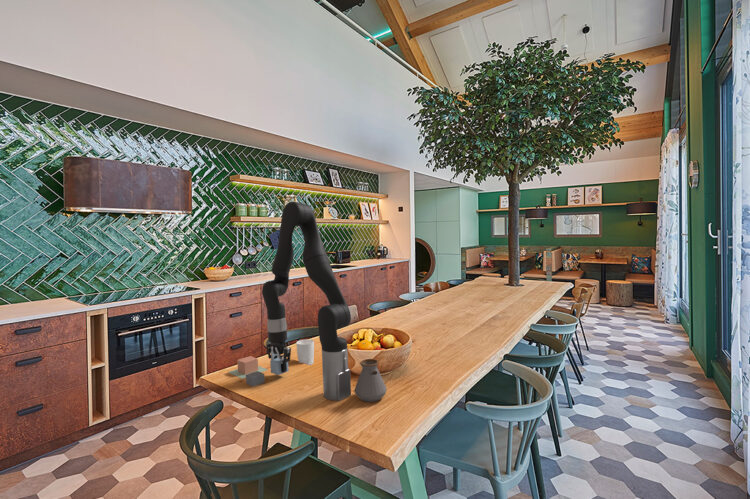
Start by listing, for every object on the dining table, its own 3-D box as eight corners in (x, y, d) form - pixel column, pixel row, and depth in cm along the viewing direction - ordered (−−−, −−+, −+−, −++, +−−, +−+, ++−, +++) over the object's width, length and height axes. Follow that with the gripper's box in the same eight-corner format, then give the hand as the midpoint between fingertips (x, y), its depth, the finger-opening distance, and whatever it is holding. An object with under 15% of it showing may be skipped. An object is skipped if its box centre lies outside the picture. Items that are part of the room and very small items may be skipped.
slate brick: (264, 386, 143) (264, 373, 143) (253, 390, 140) (252, 378, 139) (257, 383, 147) (257, 371, 147) (246, 387, 143) (245, 374, 143)
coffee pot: (353, 392, 136) (351, 352, 135) (383, 388, 137) (382, 349, 137) (359, 421, 115) (358, 374, 114) (395, 417, 116) (394, 370, 116)
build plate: (268, 373, 157) (268, 369, 157) (242, 382, 148) (242, 378, 148) (253, 367, 165) (253, 363, 165) (227, 375, 156) (227, 372, 155)
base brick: (258, 370, 156) (257, 358, 156) (245, 374, 152) (244, 362, 152) (250, 367, 160) (250, 356, 160) (237, 371, 156) (237, 359, 156)
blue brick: (288, 371, 149) (287, 359, 149) (278, 375, 145) (277, 362, 145) (281, 368, 152) (280, 356, 152) (270, 372, 148) (270, 360, 148)
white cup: (293, 365, 165) (292, 343, 165) (304, 359, 172) (303, 338, 172) (307, 367, 162) (306, 345, 161) (318, 361, 169) (317, 340, 168)
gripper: (295, 329, 146) (298, 371, 147) (274, 325, 155) (277, 364, 156) (280, 333, 140) (282, 377, 141) (259, 329, 150) (261, 370, 150)
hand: (279, 370), depth 149 cm, fingers closed on blue brick, 5 cm apart
